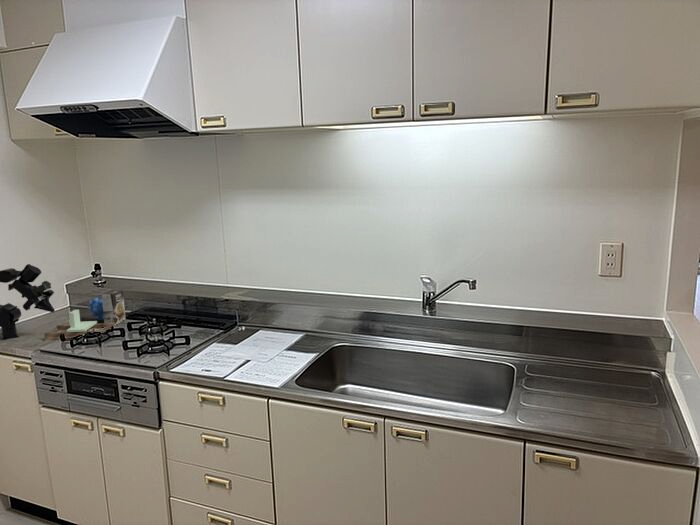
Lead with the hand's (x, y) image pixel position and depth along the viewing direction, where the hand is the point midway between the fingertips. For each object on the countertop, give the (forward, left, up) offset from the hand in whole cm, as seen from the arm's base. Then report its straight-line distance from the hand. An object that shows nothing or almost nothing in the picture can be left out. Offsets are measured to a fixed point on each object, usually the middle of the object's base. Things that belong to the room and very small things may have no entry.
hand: (53, 311), depth 239 cm
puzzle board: (+6, +9, -11) cm, 16 cm away
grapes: (-13, +22, -12) cm, 28 cm away
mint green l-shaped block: (+7, +10, -8) cm, 15 cm away
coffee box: (-2, +27, -12) cm, 29 cm away
